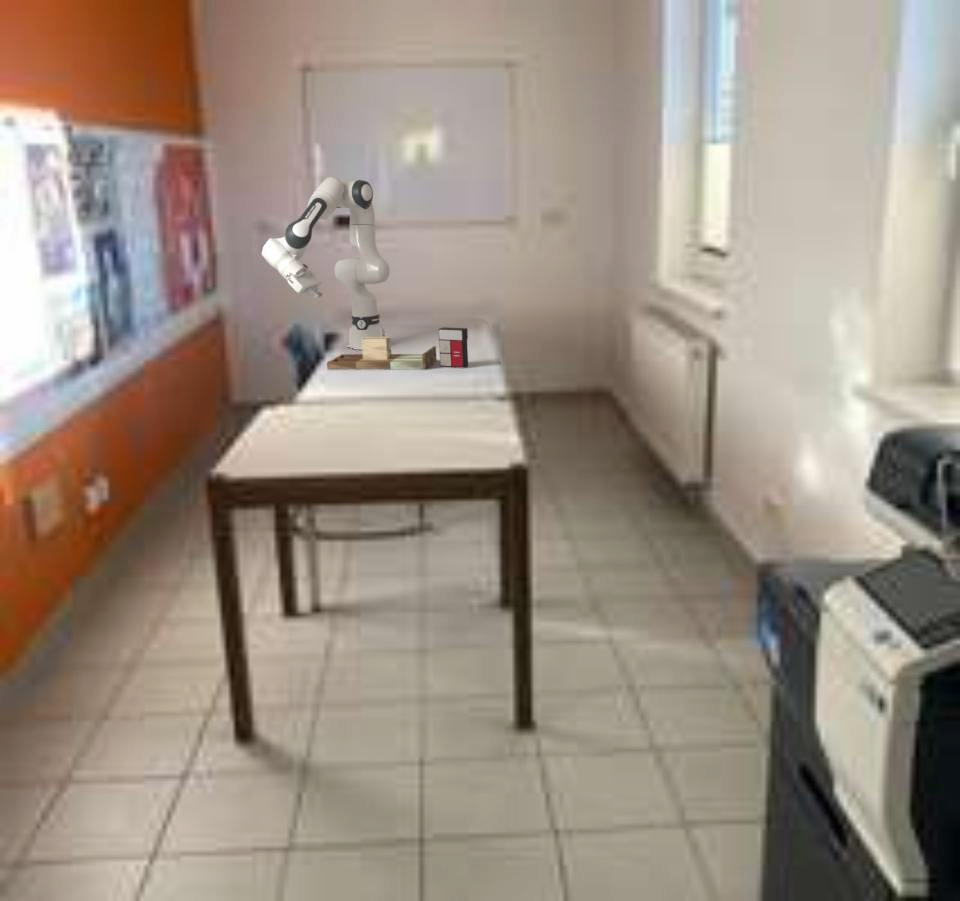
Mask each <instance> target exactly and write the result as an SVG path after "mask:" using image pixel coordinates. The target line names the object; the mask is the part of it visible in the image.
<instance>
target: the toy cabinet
mask: <svg viewBox="0 0 960 901" xmlns="http://www.w3.org/2000/svg"><path fill="white" fill-rule="evenodd" d="M468 337H469V333H468V328H466V327H464V328H463V327H448V326H447V327H446V326H445V327H444V326H443V327H440V328H438V344H439V345H438V346H439V364H440V367H441V366H442V367H441V368H444V367H445V368H456V367H465V368H468V367H469V358H468V357H469V352H468V351H469V350H468ZM467 366H468V367H467Z"/></svg>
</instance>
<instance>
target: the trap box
mask: <svg viewBox="0 0 960 901" xmlns="http://www.w3.org/2000/svg"><path fill="white" fill-rule="evenodd" d="M437 361H438V360H437V346H432V347H430V348H429V349H427V351H425V352H423V353H391V357H390V358H389V359H363V353H361V354H359V353H357V354H356V353H353V354H352V353H351V354H350V353H349V354H348V353H341V354H339V355H337V356H336V357H333V358H332V359H330V360H328V361H327V362H326V368H327V369H426V370H427V369H428V368H430V367H431V366H432V365H433V363H434V362H435V363H436V362H437ZM435 363H434V364H435ZM429 366H430V367H429Z"/></svg>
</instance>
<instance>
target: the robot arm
mask: <svg viewBox="0 0 960 901" xmlns="http://www.w3.org/2000/svg"><path fill="white" fill-rule="evenodd" d="M373 198H374V190H373V187H372V185H371V184H370V183H369V182H368V181H366V180H363V179H357V180H352V179H350V180H345V181H341V180H340V179H339V178H337V177H334V176H329V177H326V178H325V179H324V180H323V181H322V182H321V183H319V185H318V186H317V187H316V189H315V190H314V191H313V193H312V194H311V196H310V198H309V200H308V202H307V205H306V209H305V210H304V212H303V213H302V214H301V216H300V217H299V218H298V219H296V220H294V221H293V222H291V223H290V224H288V226H287V227H286V228H285V235H284V236H283V237H278V238H273V237H269V239H267V240H266V241H265V242H264V243H263V246H261V253H260V254H261V256H262V257H263V258H264V260H265V261H266V262H267V263H268V264H269V265H270V267H272V268H273V269H274V270H276V271H277V272H278V273H279V275H280V276H281V277H282V278H283V279H284V280H285V281H286V282H287V283H288V285H289V286H290V287H291V288H292V289H293V290H294V291H295V292H296V293H297V294H299V295H301V294H304V293H306V294H308V295H309V296H311V297H313V299H318V298H321V297H323V295H324V293H323V292H322V291H321V290H320V288H319V287H320V285H321V284H322V283H321V280H320V279H319V277H318V276H317V275H316V274H315V273H314V272H313V271H312V270H310V268H309V267H310V266H308V265H307V264H304V263H303V262H302V263H301V262H300V261H299V260H300V259H301V258H302V257H303V256H304V254H306V251H307V249H308V248H307V247H308V245H309V243H310V242H311V239H312V235H313V234H312V232H313V229H314V227H315V225H316V224H317V223H318V222H319V220H324V221H325V220H327V219H328V218H330V217H331V216H332V214H333V213H335V211H336V209H341V208H343V209H349V211H350V212H349V213H350V216H349V244H350V246H351V247H352V248H354V249H356V251H358V253H359V258H357V257H354V258H351V257H350V258H349V257H348V258H344V259H340V260H338V261H337V262H336V263H335V265H334V268H333V272H334V277H335V279H336V280H337V281H338V282H339V283H341V284H342V285H343V287H344V289H346V292H347V293H348V295H349V299H350V305H351V312H352V313H351V319H350V320H351V327H350V328H349V329H348V330H349V344H346V348H347V347H350V348H349V349H352V348H353V349H352V350H362V339H363V338H365V337H386V333H385V329H384V328H383V326H382V325H381V323H380V318H381V316H380V315H381V314H380V313H378V303H377V301H378V300H377V297H376V296H375V294H374V293H372V292H370V291H369V290H368V289H367V287H366V284H367V285H369V284H370V285H376V284H381V283H385V282H386V281H387V280H388V278H389V277H390V273H391V270H390V266H389V263H388V262H387V261H386V260H385V259H384V258H383V257H382V256H381V254H380V253H379V251H378V248H377V243H376V215H375V208H374V204H373V203H372V202H373V200H374V199H373Z"/></svg>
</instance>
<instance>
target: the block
mask: <svg viewBox="0 0 960 901" xmlns="http://www.w3.org/2000/svg"><path fill="white" fill-rule="evenodd" d="M361 352H362V353H361V354H363V359H389V358H390V357H391V354H392V344H391V336H385V337H365V338H363V339H362V349H361Z"/></svg>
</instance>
